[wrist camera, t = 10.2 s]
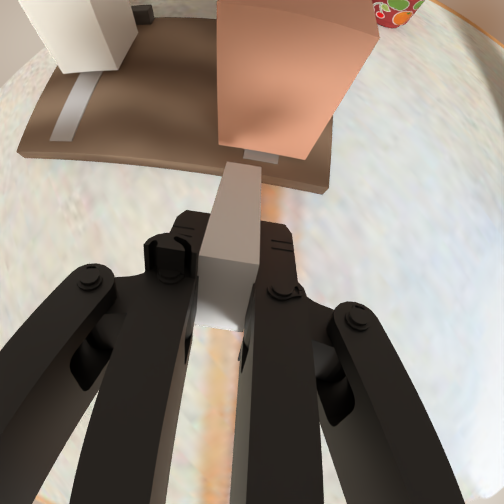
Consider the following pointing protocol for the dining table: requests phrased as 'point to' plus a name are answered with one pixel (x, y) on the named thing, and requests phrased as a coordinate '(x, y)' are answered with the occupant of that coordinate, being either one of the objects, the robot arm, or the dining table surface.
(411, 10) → the smoothie
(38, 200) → the dining table surface
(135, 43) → the board
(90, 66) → the key
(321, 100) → the key
